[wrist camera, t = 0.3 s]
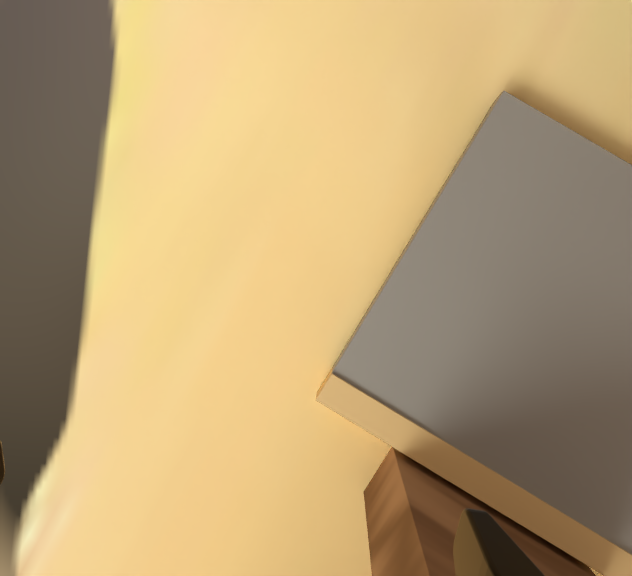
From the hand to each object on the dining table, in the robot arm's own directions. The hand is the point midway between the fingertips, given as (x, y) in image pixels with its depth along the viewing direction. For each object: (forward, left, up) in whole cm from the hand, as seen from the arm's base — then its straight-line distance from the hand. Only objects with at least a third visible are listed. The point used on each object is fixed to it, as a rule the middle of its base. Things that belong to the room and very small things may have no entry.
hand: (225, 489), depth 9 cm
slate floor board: (+10, -11, -16) cm, 22 cm away
